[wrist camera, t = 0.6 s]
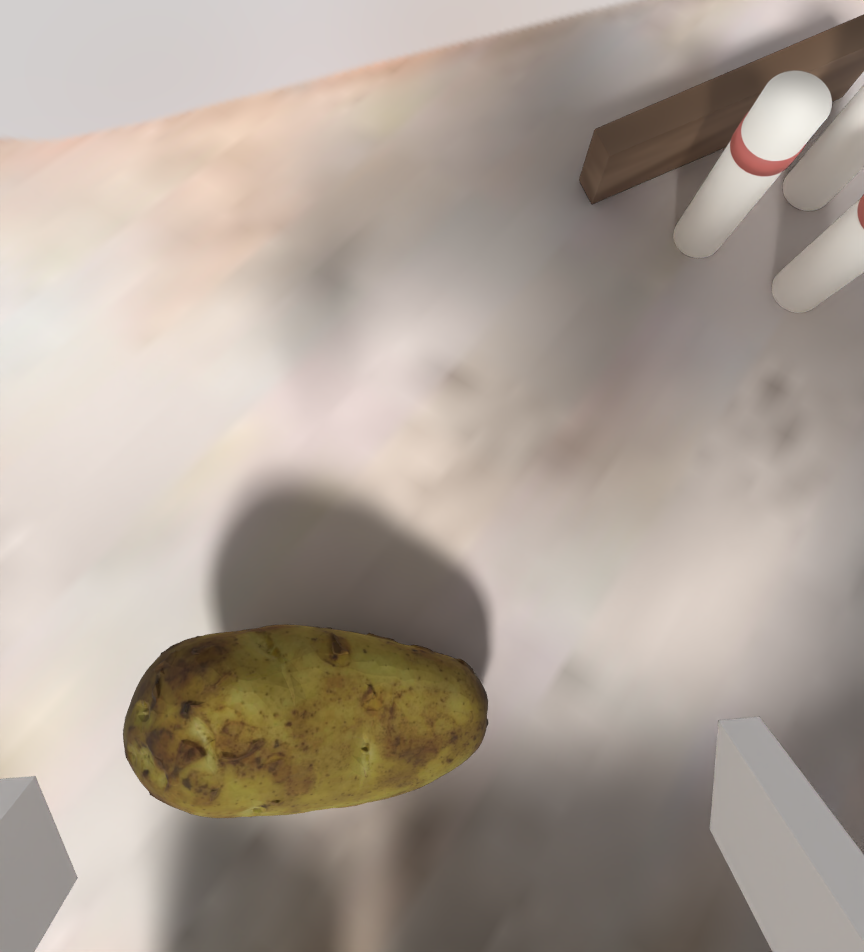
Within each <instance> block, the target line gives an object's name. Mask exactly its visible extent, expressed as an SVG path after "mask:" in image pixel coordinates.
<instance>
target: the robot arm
mask: <svg viewBox="0 0 864 952" xmlns="http://www.w3.org/2000/svg"><path fill="white" fill-rule="evenodd" d="M710 831H711V833H712V835H713V837H714V839H715V840H716V842H717V844H718V846H719V848H720V850H721V852H722V854H723V856H724V858H725V860H726V862H727V864H728V866H729V868H730V870H731V872H732V874H733V876H734V878H735V880H736V882H737V884H738V886H739V888H740V889H741V891H742V893H743V895H744V897H745V899H746V901H747V903H748V905H749V907H750V909H751V911H752V913H753V915H754V917H755V919H756V921H757V923H758V925H759V927H760V929H761V931H762V933H763V935H764V936H765V938H766V940H767V942H768V944H769V946H770V948H771V950H772V952H864V854H863V853H862V852H861V850H860V849H859V848H858V846H857V845H856V844H855V842H854V841H853V840H852V838H851V837H850V836H849V834H848V833H847V832H846V831H845V829H844V828H843V827H842V825H841V824H840V823H839V821H838V820H837V819H836V817H835V816H834V815H833V813H832V812H831V811H830V809H829V808H828V807H827V805H826V804H825V803H824V801H823V800H822V799H821V797H820V796H819V795H818V793H817V792H816V791H815V789H814V788H813V787H812V785H811V784H810V783H809V782H808V780H807V779H806V778H805V776H804V775H803V774H802V772H801V771H800V770H799V768H798V767H797V766H796V764H795V763H794V762H793V760H792V759H791V758H790V756H789V755H788V754H787V752H786V751H785V750H784V748H783V747H782V746H781V744H780V743H779V742H778V740H777V739H776V738H775V737H774V735H773V734H772V733H771V731H770V730H769V729H768V727H767V726H766V725H765V723H764V722H763V721H762V719H761V718H760V717H751V718H739V719H727V720H718V731H717V744H716V757H715V769H714V782H713V795H712V808H711V820H710ZM77 878H78V877H77V875H76V873H75V870H74V868H73V865H72V863H71V861H70V858H69V856H68V853H67V851H66V849H65V846H64V844H63V841H62V839H61V837H60V834H59V832H58V829H57V827H56V825H55V822H54V820H53V817H52V815H51V813H50V810H49V808H48V805H47V803H46V800H45V798H44V796H43V793H42V791H41V788H40V786H39V784H38V781H37V779H36V776H31V777H19V778H6V779H0V952H34V951H35V950H36V948H37V946H38V945H39V943H40V941H41V939H42V938H43V936H44V934H45V933H46V931H47V929H48V928H49V926H50V924H51V922H52V921H53V919H54V917H55V916H56V914H57V912H58V910H59V909H60V907H61V905H62V904H63V902H64V900H65V899H66V897H67V895H68V893H69V892H70V890H71V888H72V887H73V885H74V883H75V882H76V880H77Z"/></svg>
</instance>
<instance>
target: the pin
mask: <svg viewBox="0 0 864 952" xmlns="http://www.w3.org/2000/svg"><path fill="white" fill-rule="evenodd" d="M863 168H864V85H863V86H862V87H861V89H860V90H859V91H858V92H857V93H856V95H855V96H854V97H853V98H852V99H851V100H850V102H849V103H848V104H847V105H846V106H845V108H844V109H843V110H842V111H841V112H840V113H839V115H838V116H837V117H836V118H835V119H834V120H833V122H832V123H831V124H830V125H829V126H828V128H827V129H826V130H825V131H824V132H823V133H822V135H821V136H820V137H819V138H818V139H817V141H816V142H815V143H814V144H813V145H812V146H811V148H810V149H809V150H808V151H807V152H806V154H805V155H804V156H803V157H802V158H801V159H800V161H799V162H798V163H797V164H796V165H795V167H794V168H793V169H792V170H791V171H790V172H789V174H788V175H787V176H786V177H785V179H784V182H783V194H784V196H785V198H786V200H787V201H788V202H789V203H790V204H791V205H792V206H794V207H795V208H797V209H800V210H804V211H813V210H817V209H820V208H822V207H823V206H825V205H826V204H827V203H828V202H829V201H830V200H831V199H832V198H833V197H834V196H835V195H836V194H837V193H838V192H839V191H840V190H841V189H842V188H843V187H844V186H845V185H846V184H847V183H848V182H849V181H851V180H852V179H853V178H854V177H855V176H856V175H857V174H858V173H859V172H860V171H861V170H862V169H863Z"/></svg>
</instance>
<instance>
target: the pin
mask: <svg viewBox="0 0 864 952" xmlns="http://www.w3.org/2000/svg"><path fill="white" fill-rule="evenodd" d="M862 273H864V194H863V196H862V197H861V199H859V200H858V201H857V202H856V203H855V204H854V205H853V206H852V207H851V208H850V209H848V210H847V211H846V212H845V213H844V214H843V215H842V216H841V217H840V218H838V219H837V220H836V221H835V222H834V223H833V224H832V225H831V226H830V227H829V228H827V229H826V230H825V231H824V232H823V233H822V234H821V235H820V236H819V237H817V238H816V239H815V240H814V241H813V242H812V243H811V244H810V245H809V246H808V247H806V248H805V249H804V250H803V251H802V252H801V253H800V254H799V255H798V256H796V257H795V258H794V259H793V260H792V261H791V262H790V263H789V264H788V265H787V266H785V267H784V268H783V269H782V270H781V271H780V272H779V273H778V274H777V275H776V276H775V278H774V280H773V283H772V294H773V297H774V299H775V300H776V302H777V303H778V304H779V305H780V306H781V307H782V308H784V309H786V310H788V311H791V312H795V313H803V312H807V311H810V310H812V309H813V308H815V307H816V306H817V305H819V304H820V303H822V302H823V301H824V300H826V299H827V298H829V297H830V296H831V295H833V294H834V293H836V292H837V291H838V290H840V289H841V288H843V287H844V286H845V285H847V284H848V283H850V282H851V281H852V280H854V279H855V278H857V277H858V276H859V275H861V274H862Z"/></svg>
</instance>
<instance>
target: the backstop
mask: <svg viewBox="0 0 864 952" xmlns="http://www.w3.org/2000/svg"><path fill="white" fill-rule="evenodd" d="M787 71H803V72H807V73H810V74H812V75H814V76H816V77H818V78H819V79H820V80H822V81H823V82H824V83H825V85H826V86H827V87H828V89H829V91H830V94H831V98H832V101H834V100H837V99H839V98H841V97H843V96H844V94H845V93H846V92H847V91H848V90H849V88H850V87H851V86H852V85H853V83H854V82H855V81H856V80H857V79H858V77H859V76H860V75H861V74H862V73H863V71H864V15H861V16H859V17H857V18H854V19H852V20H850V21H847V22H845V23H843V24H840V25H838V26H836V27H833V28H831V29H829V30H826V31H824V32H822V33H819V34H817V35H815V36H812V37H810V38H807V39H805V40H803V41H800V42H798V43H796V44H793V45H791V46H789V47H786V48H784V49H782V50H779V51H777V52H775V53H772V54H770V55H768V56H765V57H763V58H761V59H758V60H756V61H754V62H751V63H749V64H746V65H744V66H742V67H739V68H737V69H735V70H732V71H730V72H728V73H725V74H723V75H721V76H718V77H716V78H714V79H711V80H709V81H707V82H704V83H702V84H700V85H697V86H695V87H693V88H690V89H688V90H685V91H683V92H681V93H678V94H676V95H674V96H671V97H669V98H667V99H664V100H662V101H660V102H657V103H655V104H653V105H650V106H648V107H646V108H643V109H641V110H639V111H636V112H634V113H632V114H629V115H627V116H625V117H622V118H620V119H617V120H615V121H613V122H610V123H608V124H606V125H603V126H601V127H599V128H596V129H595V130H594V133H593V136H592V140H591V143H590V146H589V149H588V153H587V156H586V159H585V162H584V165H583V169H582V172H581V175H580V178H579V181H580V183H581V185H582V187H583V189H584V191H585V193H586V194H587V196H588V198H589V200H590V202H591V204H594V203H596V202H599V201H601V200H603V199H606V198H608V197H610V196H613V195H615V194H617V193H620V192H622V191H624V190H627V189H629V188H631V187H634V186H636V185H638V184H641V183H643V182H645V181H648V180H650V179H652V178H655V177H657V176H659V175H662V174H664V173H666V172H669V171H671V170H673V169H676V168H678V167H680V166H683V165H685V164H687V163H690V162H692V161H694V160H697V159H699V158H701V157H704V156H706V155H708V154H711V153H713V152H715V151H718V150H720V149H722V148H725V147H727V145H728V144H729V142H730V140H731V138H732V135H733V134H734V132H735V130H736V129H737V127H738V126H739V124H740V123H741V121H742V119H743V118H744V116H745V115H746V114H747V113H748V112H749V111H750V109H751V108H752V106H753V105H754V103H755V102H756V100H757V99H758V97H759V95H760V94H761V92H762V91H763V89H764V88H765V86H766V85H767V83H768V82H769V81H770V80H771V79H772V78H773V77H775V76H776V75H778V74H781V73H783V72H787Z"/></svg>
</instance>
